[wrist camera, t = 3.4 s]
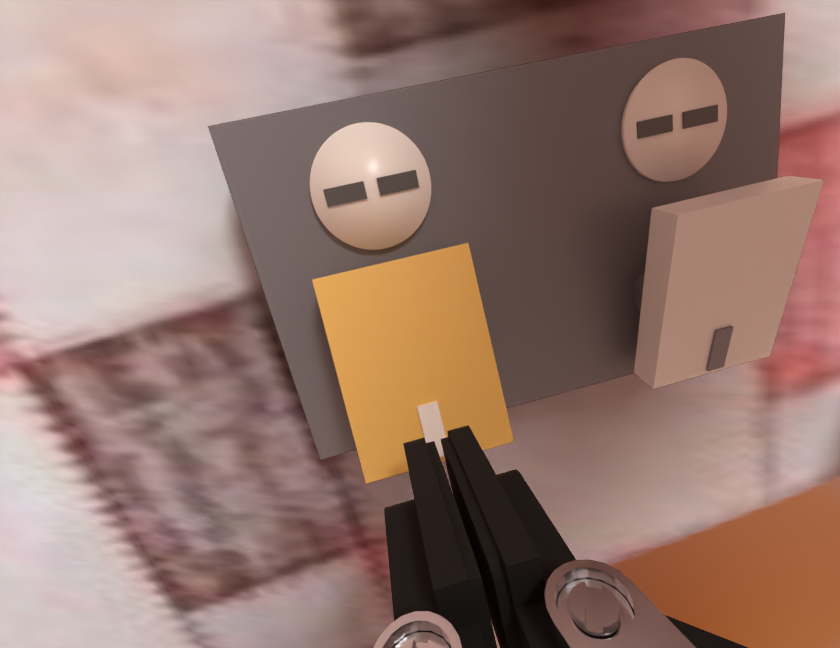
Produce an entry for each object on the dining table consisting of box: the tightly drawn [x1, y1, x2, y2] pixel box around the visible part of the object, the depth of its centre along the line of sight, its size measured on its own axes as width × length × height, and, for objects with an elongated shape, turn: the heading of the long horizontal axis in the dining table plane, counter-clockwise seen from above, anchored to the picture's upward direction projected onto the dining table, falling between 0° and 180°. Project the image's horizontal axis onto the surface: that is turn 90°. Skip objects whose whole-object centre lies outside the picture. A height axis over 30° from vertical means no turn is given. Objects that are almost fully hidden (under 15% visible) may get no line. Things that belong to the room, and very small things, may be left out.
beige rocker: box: [632, 176, 824, 389], centre depth 13 cm, size 6×4×2 cm
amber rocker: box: [312, 243, 514, 484], centre depth 12 cm, size 6×4×2 cm
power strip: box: [208, 13, 785, 460], centre depth 14 cm, size 11×18×3 cm, turn 102°
